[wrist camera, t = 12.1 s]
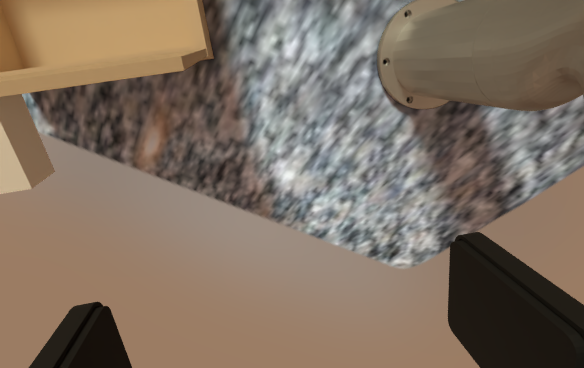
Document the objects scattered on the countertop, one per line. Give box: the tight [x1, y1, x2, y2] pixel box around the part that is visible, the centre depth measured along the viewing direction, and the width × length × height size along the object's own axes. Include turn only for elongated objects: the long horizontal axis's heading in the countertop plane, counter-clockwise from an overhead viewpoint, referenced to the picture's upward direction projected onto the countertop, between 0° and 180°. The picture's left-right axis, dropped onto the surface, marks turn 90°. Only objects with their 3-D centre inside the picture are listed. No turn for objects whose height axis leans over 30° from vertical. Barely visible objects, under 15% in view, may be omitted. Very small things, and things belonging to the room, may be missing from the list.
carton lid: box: [0, 49, 208, 194], centre depth 23 cm, size 20×16×5 cm
